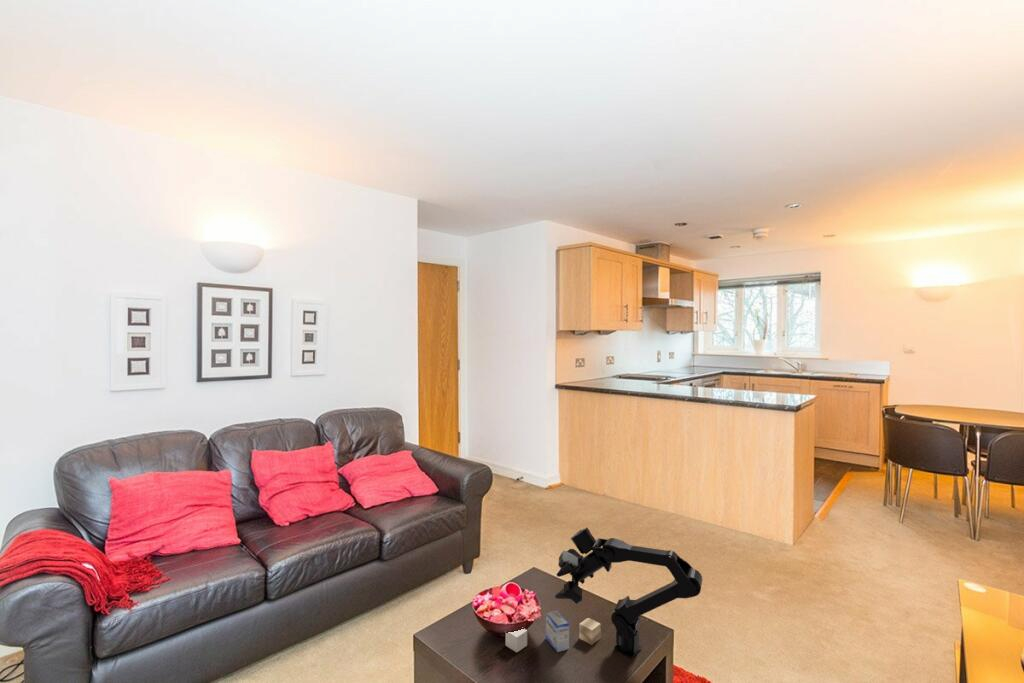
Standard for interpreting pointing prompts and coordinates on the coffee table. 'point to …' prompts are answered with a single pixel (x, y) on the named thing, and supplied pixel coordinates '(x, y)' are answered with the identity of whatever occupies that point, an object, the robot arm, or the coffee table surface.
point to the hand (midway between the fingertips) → (556, 586)
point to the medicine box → (557, 631)
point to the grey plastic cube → (516, 640)
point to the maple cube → (589, 631)
